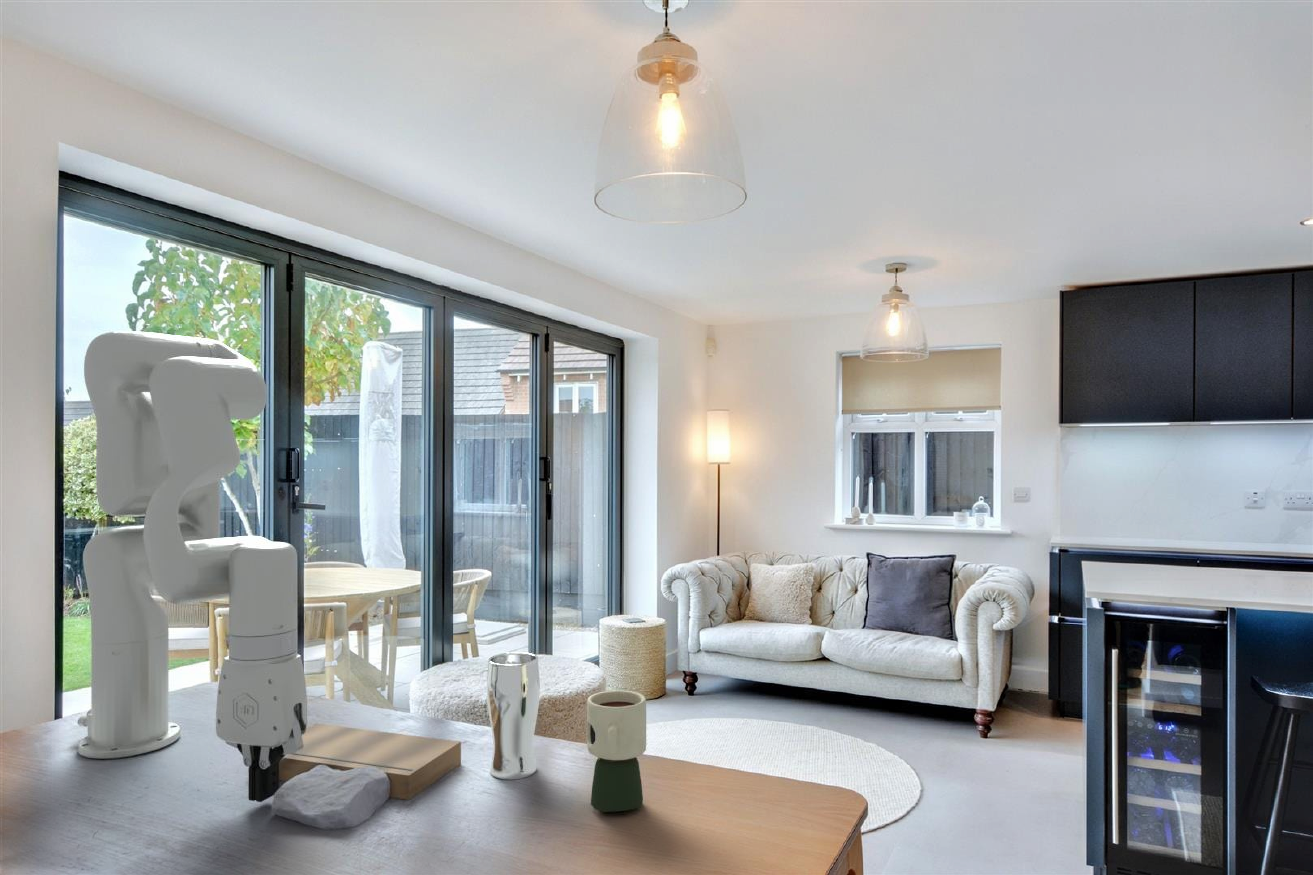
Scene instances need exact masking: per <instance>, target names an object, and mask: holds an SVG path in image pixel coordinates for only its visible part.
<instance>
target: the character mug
mask: <svg viewBox="0 0 1313 875" xmlns="http://www.w3.org/2000/svg"><path fill="white" fill-rule="evenodd" d="M586 706H587V707H586V708H587V709H586V710H587V711H586V715H587V716H586V718H587V719H586V740H587V741H586V742H587V743H586V745H587V746H586V747H587V751H588V752H589V754H591V755H592V756H594V757H596V758H597V760H596V761H595V764H594V770H593V771H594V772H593V780H592V785H591V786H592V787H591V794H590V795H591V796H590V798H591V799H590V805H591V806H592V807H593V809H594V810H597V811H600V812H601V813H606V812H607V813H608V812H614V813H618V812H620V811H622V812H623V811H629V810H634V809H638V808H639V807H641V806H643V801H644V796H643V787H642V786H643V783H642V778H641V771H640V769H641V768H640V762H639V761H638V758H637V757H639V756H642V755H643V754H644V753H645V752H646V751H647V699H646V696H645V695H644V694H642V693H640V692H636V691H630V690H617V689H616V690H607V691H605V690H604V691H601V692H600V691H599V692H597V693H594V694H592V695H590V696H588V698H587V703H586Z"/></svg>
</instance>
